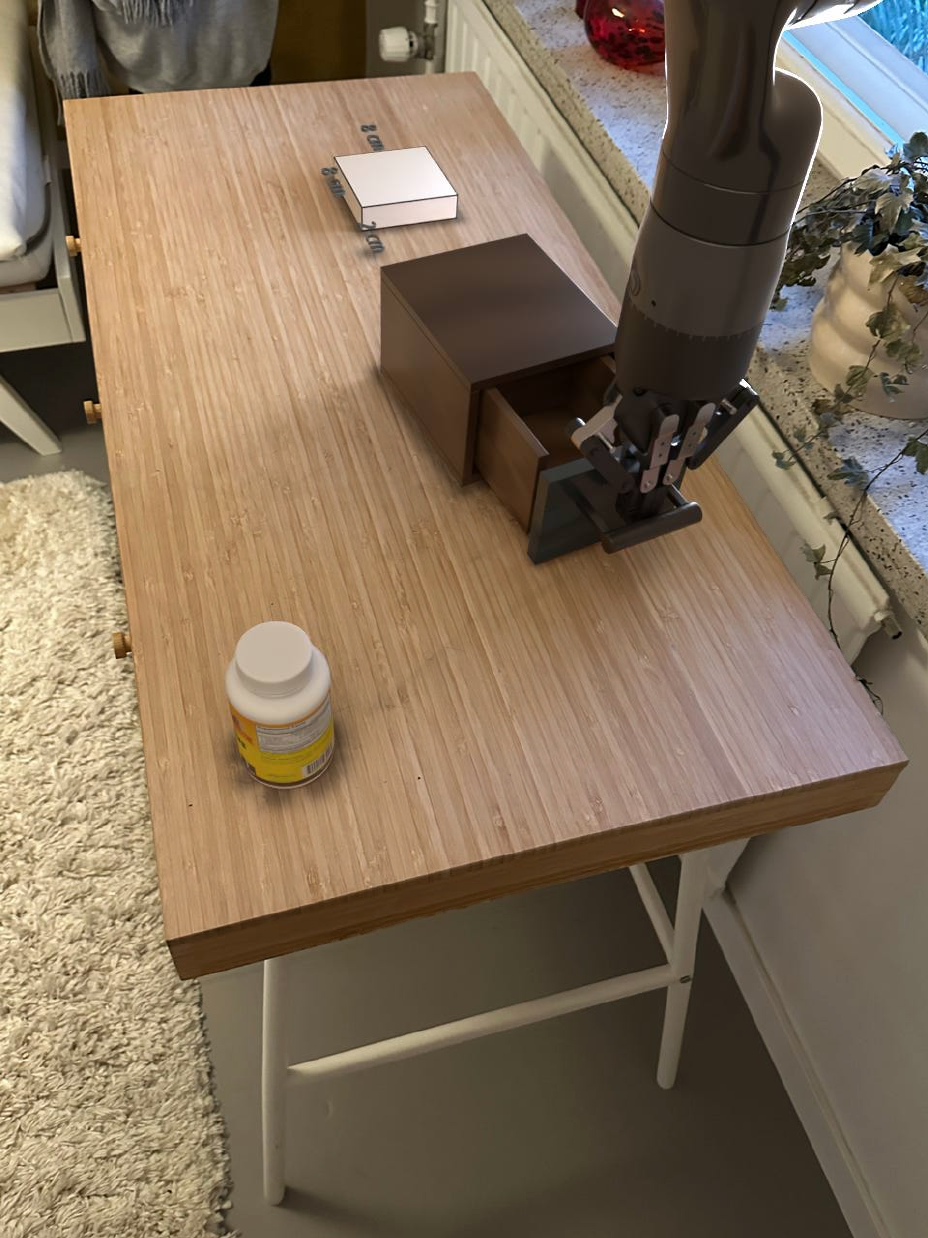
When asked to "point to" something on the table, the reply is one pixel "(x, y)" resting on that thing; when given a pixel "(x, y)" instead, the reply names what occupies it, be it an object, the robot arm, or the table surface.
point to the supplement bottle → (281, 705)
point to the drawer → (561, 464)
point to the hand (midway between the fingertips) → (635, 518)
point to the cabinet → (479, 333)
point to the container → (392, 187)
